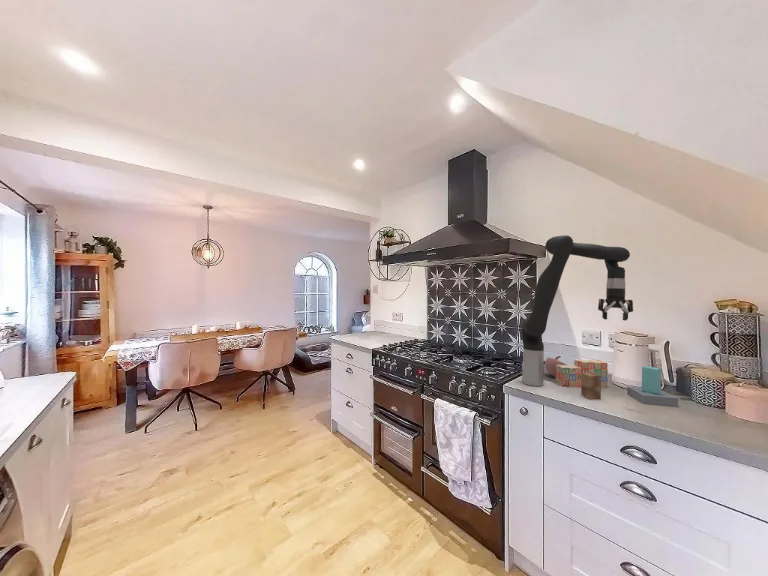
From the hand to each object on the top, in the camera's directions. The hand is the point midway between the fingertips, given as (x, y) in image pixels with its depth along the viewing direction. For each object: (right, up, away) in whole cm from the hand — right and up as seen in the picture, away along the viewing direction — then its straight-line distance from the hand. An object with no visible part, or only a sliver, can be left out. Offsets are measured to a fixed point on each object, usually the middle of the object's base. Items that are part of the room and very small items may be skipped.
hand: (615, 319), depth 149 cm
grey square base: (-2, -33, -22) cm, 39 cm away
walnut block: (-26, -32, -19) cm, 45 cm away
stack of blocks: (-19, -33, -2) cm, 38 cm away
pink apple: (-22, -33, +12) cm, 41 cm away
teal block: (-2, -28, -22) cm, 36 cm away
